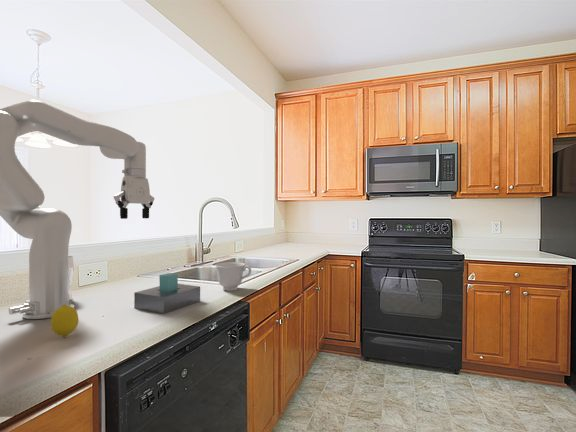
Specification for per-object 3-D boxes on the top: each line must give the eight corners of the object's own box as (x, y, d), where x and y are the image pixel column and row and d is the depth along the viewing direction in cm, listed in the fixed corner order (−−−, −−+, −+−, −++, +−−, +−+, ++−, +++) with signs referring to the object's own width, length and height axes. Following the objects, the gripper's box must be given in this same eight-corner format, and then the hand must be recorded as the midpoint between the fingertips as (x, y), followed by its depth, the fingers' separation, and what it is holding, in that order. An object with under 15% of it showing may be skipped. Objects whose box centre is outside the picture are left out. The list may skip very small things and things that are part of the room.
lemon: (83, 332, 81) (83, 301, 81) (68, 341, 76) (68, 308, 76) (60, 333, 81) (60, 301, 81) (45, 341, 76) (44, 308, 76)
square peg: (168, 306, 104) (168, 276, 104) (159, 305, 106) (159, 275, 106) (177, 303, 108) (177, 274, 108) (168, 302, 110) (168, 273, 109)
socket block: (163, 313, 97) (163, 297, 97) (134, 308, 102) (134, 292, 102) (200, 300, 111) (200, 286, 111) (172, 296, 117) (172, 282, 117)
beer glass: (78, 298, 114) (78, 256, 114) (59, 303, 107) (59, 258, 107) (63, 296, 116) (63, 255, 115) (44, 302, 109) (43, 258, 109)
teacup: (244, 294, 120) (244, 267, 120) (209, 291, 124) (209, 265, 124) (256, 287, 132) (256, 263, 132) (223, 284, 136) (223, 261, 136)
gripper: (121, 171, 114) (121, 219, 114) (160, 176, 130) (160, 218, 130) (107, 172, 117) (107, 218, 118) (147, 177, 133) (147, 218, 133)
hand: (135, 218), depth 124 cm, fingers open, 9 cm apart
